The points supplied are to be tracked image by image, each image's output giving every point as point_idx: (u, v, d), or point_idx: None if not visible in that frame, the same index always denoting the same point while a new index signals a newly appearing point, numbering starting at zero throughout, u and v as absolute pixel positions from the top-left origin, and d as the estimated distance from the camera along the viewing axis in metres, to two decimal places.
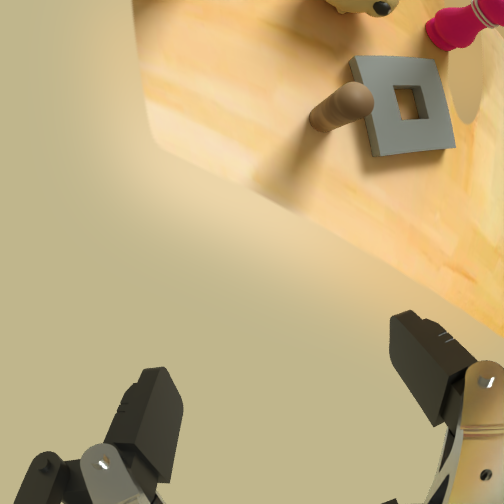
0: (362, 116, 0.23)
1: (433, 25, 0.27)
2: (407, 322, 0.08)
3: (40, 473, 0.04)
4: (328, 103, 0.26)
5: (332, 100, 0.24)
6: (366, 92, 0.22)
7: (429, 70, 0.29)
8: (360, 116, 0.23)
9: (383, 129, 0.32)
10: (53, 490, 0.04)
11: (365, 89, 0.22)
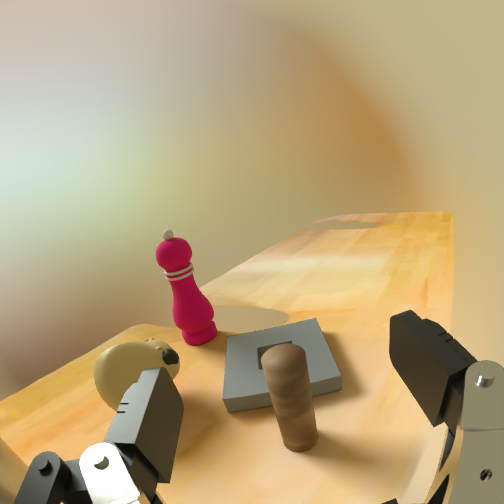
0: (303, 351, 0.22)
1: (190, 334, 0.48)
2: (407, 322, 0.08)
3: (40, 473, 0.04)
4: (286, 399, 0.21)
5: (283, 389, 0.21)
6: (273, 349, 0.23)
7: (239, 340, 0.42)
8: (303, 352, 0.22)
9: (310, 376, 0.32)
10: (53, 490, 0.04)
11: (270, 350, 0.23)
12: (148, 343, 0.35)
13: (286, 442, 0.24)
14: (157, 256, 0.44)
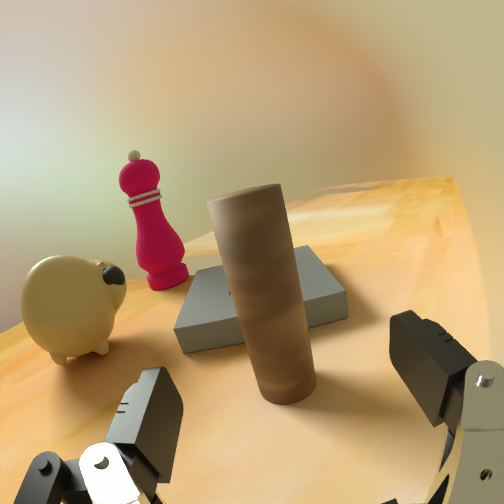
0: (277, 184, 0.14)
1: (155, 276, 0.39)
2: (407, 322, 0.08)
3: (40, 473, 0.04)
4: (251, 270, 0.13)
5: (242, 242, 0.13)
6: (231, 193, 0.15)
7: (210, 272, 0.34)
8: (277, 184, 0.14)
9: None
10: (53, 490, 0.04)
11: (225, 194, 0.15)
12: (90, 261, 0.26)
13: (262, 385, 0.16)
14: (120, 178, 0.36)
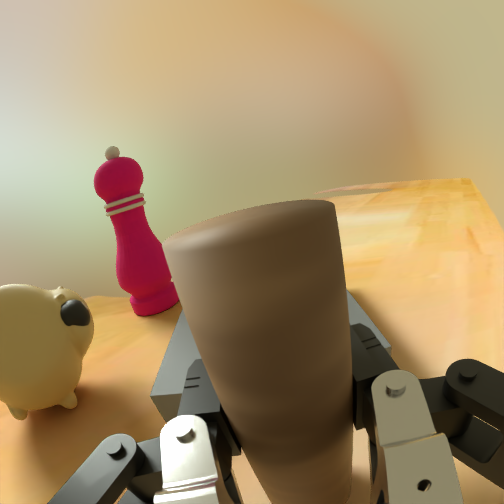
0: (323, 202, 0.06)
1: (139, 299, 0.32)
2: None
3: (108, 457, 0.05)
4: (265, 403, 0.05)
5: (246, 353, 0.05)
6: (221, 217, 0.07)
7: None
8: (325, 203, 0.06)
9: None
10: (118, 479, 0.04)
11: (209, 220, 0.07)
12: (49, 291, 0.18)
13: None
14: (94, 180, 0.28)
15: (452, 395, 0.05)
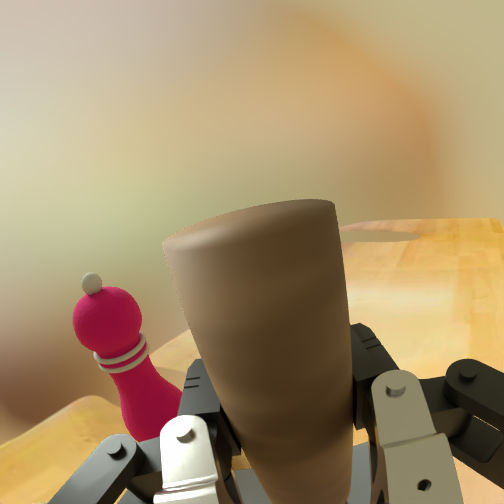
0: (323, 201, 0.06)
1: None
2: None
3: (108, 457, 0.05)
4: (265, 403, 0.05)
5: (246, 352, 0.05)
6: (221, 217, 0.07)
7: (243, 486, 0.17)
8: (325, 203, 0.06)
9: None
10: (118, 479, 0.04)
11: (209, 220, 0.07)
12: None
13: None
14: (74, 327, 0.19)
15: (452, 395, 0.05)
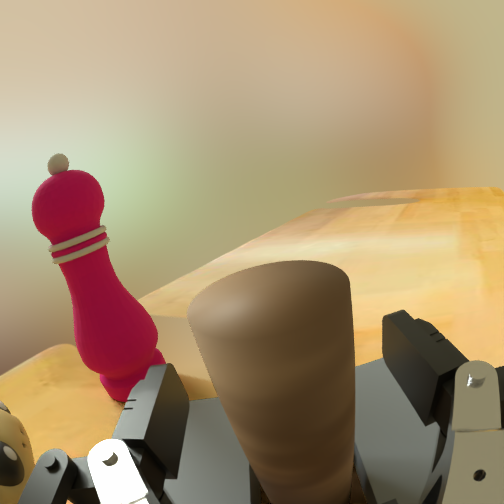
0: (338, 272, 0.06)
1: (110, 381, 0.20)
2: (399, 322, 0.08)
3: (47, 471, 0.04)
4: (280, 447, 0.06)
5: (267, 413, 0.05)
6: (238, 277, 0.08)
7: (203, 419, 0.14)
8: (340, 275, 0.06)
9: None
10: (60, 489, 0.04)
11: (227, 280, 0.07)
12: None
13: None
14: None
15: None
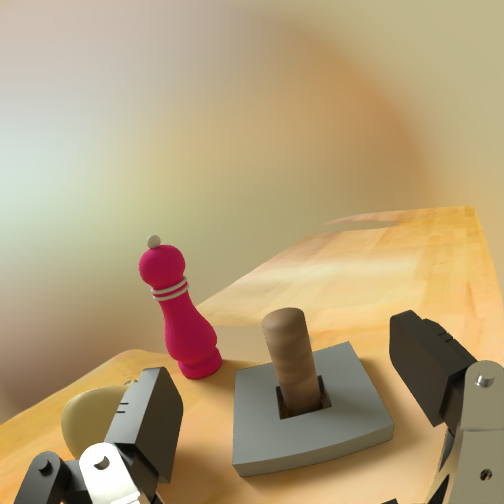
0: (302, 312, 0.23)
1: (188, 366, 0.37)
2: (407, 322, 0.08)
3: (40, 473, 0.04)
4: (288, 362, 0.23)
5: (284, 350, 0.22)
6: (273, 313, 0.25)
7: (251, 376, 0.31)
8: (302, 313, 0.23)
9: (353, 427, 0.20)
10: (53, 490, 0.04)
11: (270, 314, 0.25)
12: (128, 388, 0.24)
13: (291, 414, 0.25)
14: (140, 270, 0.34)
15: None
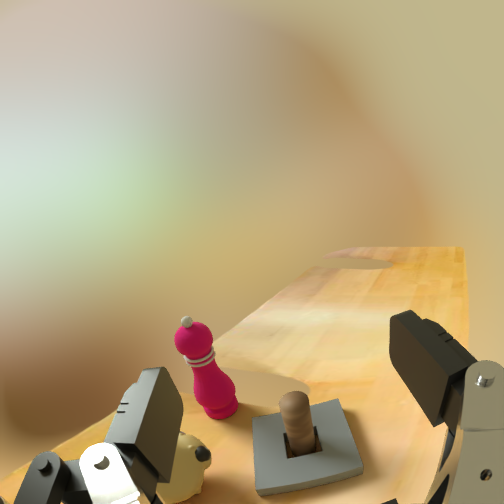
0: (307, 397, 0.31)
1: (213, 410, 0.45)
2: (407, 322, 0.08)
3: (40, 473, 0.04)
4: (295, 427, 0.30)
5: (293, 421, 0.30)
6: (287, 395, 0.32)
7: (264, 423, 0.39)
8: (307, 398, 0.31)
9: (336, 466, 0.28)
10: (53, 490, 0.04)
11: (284, 396, 0.32)
12: (179, 441, 0.31)
13: (294, 453, 0.33)
14: (177, 345, 0.41)
15: None
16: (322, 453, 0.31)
